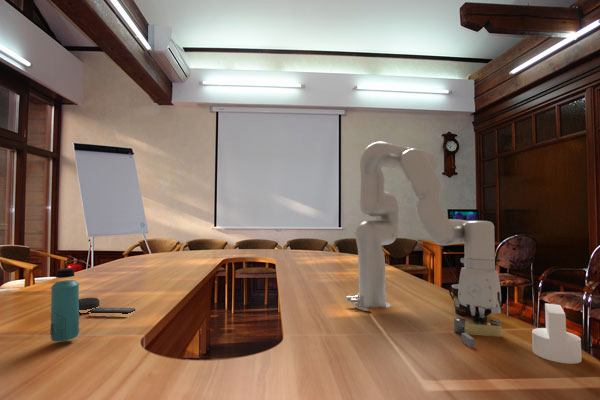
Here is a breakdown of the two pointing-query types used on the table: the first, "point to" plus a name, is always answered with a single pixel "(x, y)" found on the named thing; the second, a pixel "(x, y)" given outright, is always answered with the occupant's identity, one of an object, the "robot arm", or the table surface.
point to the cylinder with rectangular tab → (556, 338)
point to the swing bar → (478, 327)
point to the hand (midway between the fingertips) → (479, 329)
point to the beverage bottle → (64, 307)
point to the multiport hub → (112, 310)
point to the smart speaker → (88, 303)
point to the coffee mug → (458, 307)
